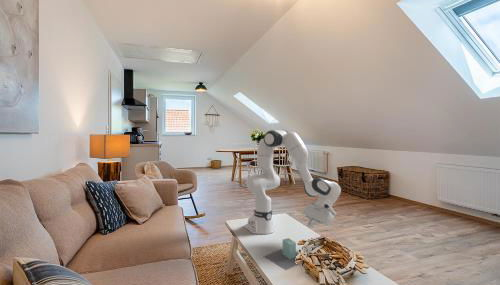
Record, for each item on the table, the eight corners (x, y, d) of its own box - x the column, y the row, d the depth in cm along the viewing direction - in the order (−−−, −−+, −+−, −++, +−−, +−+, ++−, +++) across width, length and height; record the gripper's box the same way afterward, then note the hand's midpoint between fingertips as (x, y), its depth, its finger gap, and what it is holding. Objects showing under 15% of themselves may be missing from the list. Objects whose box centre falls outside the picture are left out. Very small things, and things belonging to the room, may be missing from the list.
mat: (263, 257, 131) (263, 256, 131) (286, 248, 142) (286, 247, 142) (285, 271, 118) (285, 270, 118) (310, 259, 128) (310, 258, 128)
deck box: (282, 254, 134) (282, 239, 134) (288, 252, 136) (288, 238, 135) (289, 259, 128) (289, 244, 128) (295, 257, 130) (295, 242, 130)
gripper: (307, 199, 150) (294, 217, 146) (332, 207, 132) (319, 228, 128) (313, 205, 152) (300, 223, 148) (338, 214, 134) (325, 235, 130)
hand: (309, 226), depth 138 cm, fingers closed
